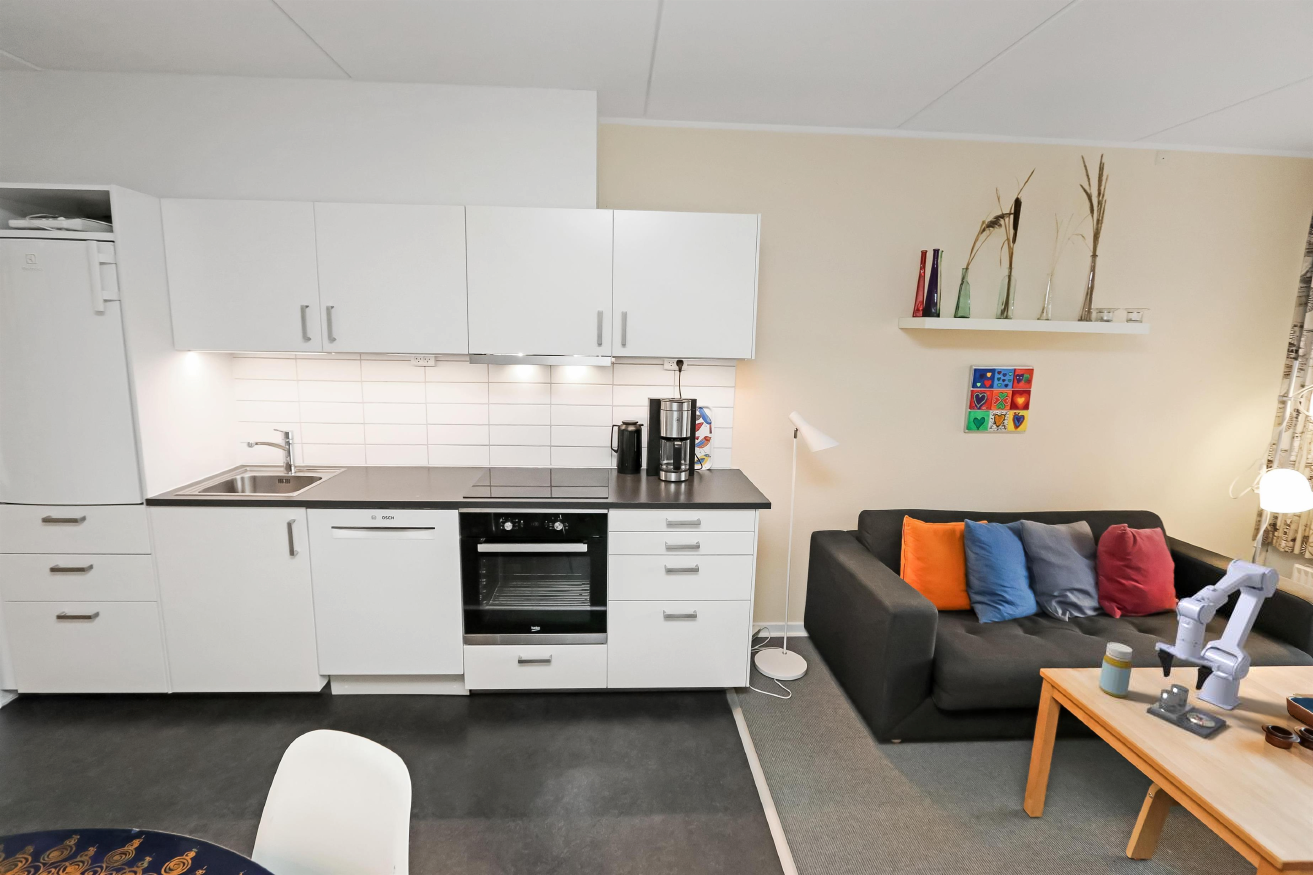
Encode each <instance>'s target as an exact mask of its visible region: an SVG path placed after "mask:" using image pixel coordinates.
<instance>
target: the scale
mask: <svg viewBox="0 0 1313 875" xmlns="http://www.w3.org/2000/svg"><path fill="white" fill-rule="evenodd" d="M1146 713H1147V714H1149V715H1151V716H1153V717H1155V718H1158V719H1160V720H1163V721H1164V722H1167V723H1169V724H1171V725H1174V726H1176V727H1178V728H1179V729H1182V730H1185V731H1186V732H1189V733H1191V734H1193V735H1196V736H1198V737H1200V738H1202V739H1208V738H1209V737H1210V736H1211V735H1213V734H1215V733H1216V732H1217V731H1219V730H1220V729H1222V728H1223V727H1225V726H1226V725H1227V720H1225V719H1223V718H1220V717H1218V716H1215V715H1213V714H1211V713H1209V712H1206V711H1204V710H1201V709H1199V708H1196V707H1195V705H1194V704H1192V703H1189V702H1187V705H1186V707H1179V706H1177V711H1176V713H1169V712H1166V711H1164V710H1162V709H1160V708H1159V701H1157V702H1155V703H1154V704H1152V705H1150V707H1148V708H1147V709H1146Z"/></svg>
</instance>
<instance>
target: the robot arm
mask: <svg viewBox="0 0 1313 875" xmlns="http://www.w3.org/2000/svg"><path fill="white" fill-rule="evenodd" d="M1279 582H1280V574H1279V573H1278V570H1277V569H1275V568H1272V567H1267V566H1263V565H1260V564H1257V563H1253V562H1250V561H1246V560H1243V559H1240V558H1235V559H1233V560H1231V561H1230V563H1229V564H1228V566H1227V570H1226V574H1225V575H1224V576H1223V577H1222V578H1221V579H1220V580H1219V581H1218V582H1217V583H1216V584H1215V585H1207V586H1205V587H1204V588H1202V589H1201V590H1199V591H1197V593H1196V594H1194V595H1193V596H1191V597H1185V598H1181V599H1180V601H1178V603H1177V606H1176V613H1177V618H1176V619H1177V621H1178V622H1179V623H1178V628H1177V633H1176V639H1175V646H1174V645H1170V644H1167V643H1163V642H1160V641H1159V642H1156V644H1155V650H1156V651H1158V653H1157V657H1158V659H1159V661H1160V663H1161V667H1162V673H1163V677H1164V678H1168V677H1170V674H1171V669H1172V663H1173V660H1174V657H1177V658H1178V659H1180V660H1184V661H1188V662H1191V663H1193V664H1197V665H1199V667H1198V668H1197V678H1196V679H1197V680H1196V684H1195V690H1196V691H1200V690H1201V691H1200V692H1198V693H1197V694H1196V695H1195V697H1196V698H1198V699H1201V700H1203V701H1205V702H1207V703H1209V704H1212V705H1215V706H1217V707H1220V708H1222V709H1224V710H1227V711H1230V710H1231V709H1233V708H1235V707H1236V706H1238V705H1240V704H1241V703H1242V700H1240V699H1238V696H1239V691H1240V686H1241V680H1243V679H1246V677H1247V675H1248V674H1249V672H1250V664H1251V662H1252V658H1251V657H1250V655H1249V654H1248V652H1247V651H1246V649H1244V645H1245V643H1246V642H1247V638H1248V637H1249V634H1250V631H1251V630H1252V627H1253V625H1254V623H1255V621H1256V619H1257V616H1258V614H1259V611H1261V610H1260V609H1261V608H1262V605H1263V603H1264V601H1265V598H1271V597H1273V595H1274V593H1275V591H1276V589H1277V587H1278V585H1279ZM1238 590H1240V594H1239V595H1240V596H1239V598H1238V600H1237V602H1236V604H1235V607H1234V610H1233V611H1232V614H1231V616H1230V618H1229V620H1228V623H1227V625H1226V627H1225V629H1224V631H1223V634H1222V636H1221V638H1220V639H1216V640H1211V641H1208V643H1206V644H1207V645H1206V646H1205V647H1204V648H1203V643H1204V639H1205V638H1204V637H1205V633H1206V626H1207V624H1208V623H1210V622H1211V621H1212V619H1213V617H1214V615H1215V614H1216V612H1217V611H1216V610H1218V609H1219V608H1220V607H1222V606H1223V605H1224V604H1226V603H1227V602H1228V600H1229V597H1228V595H1231V594H1232V593H1234V592H1235V591H1238ZM1202 648H1203V649H1202Z"/></svg>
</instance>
